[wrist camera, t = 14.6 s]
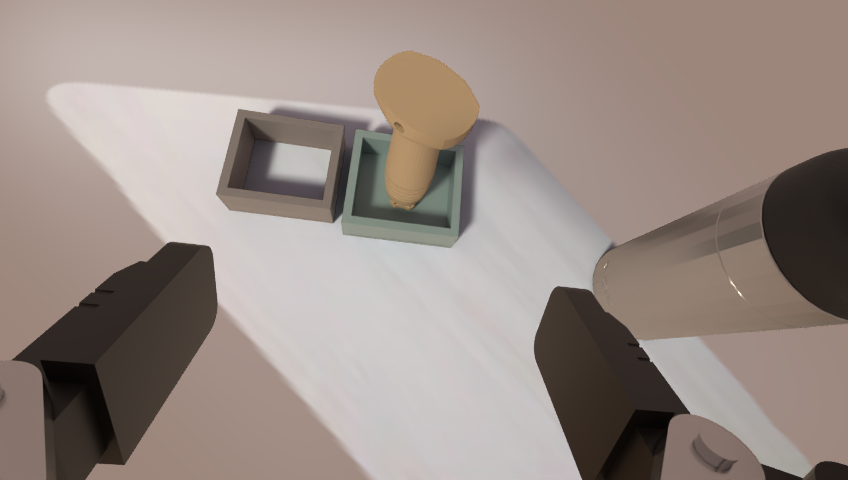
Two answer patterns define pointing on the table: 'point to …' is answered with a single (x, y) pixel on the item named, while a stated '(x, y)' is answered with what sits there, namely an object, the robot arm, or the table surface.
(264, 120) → the open rectangular frame
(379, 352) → the table surface
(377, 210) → the parts tray
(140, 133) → the table surface
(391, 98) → the handle
